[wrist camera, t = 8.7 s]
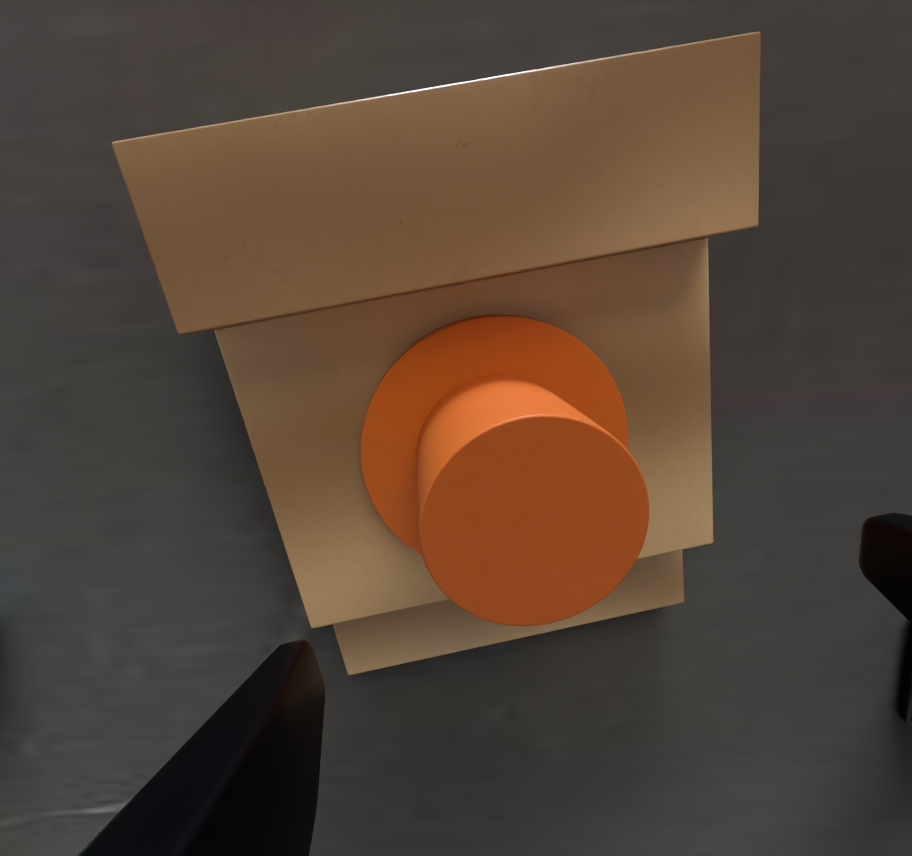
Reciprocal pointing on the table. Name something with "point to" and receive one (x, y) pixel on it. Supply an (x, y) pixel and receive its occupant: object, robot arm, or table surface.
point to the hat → (507, 468)
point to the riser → (459, 290)
